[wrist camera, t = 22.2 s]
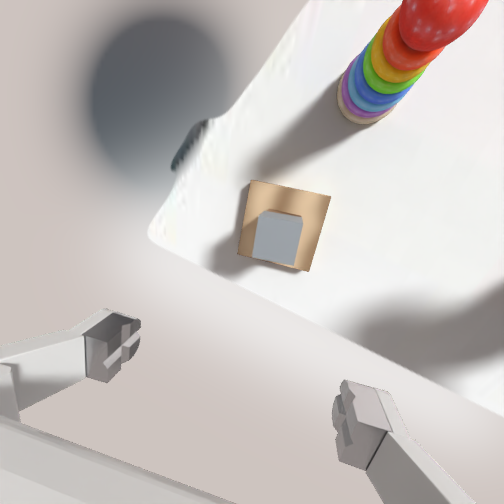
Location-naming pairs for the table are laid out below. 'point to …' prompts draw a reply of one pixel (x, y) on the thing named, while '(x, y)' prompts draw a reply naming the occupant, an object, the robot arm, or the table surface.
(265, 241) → the slate block
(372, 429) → the robot arm
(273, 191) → the base board
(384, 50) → the stacking toy
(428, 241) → the table surface
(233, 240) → the table surface
